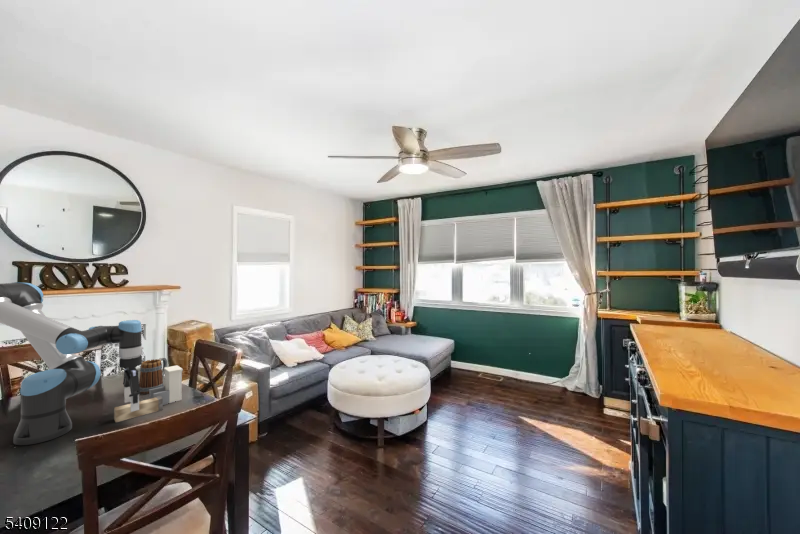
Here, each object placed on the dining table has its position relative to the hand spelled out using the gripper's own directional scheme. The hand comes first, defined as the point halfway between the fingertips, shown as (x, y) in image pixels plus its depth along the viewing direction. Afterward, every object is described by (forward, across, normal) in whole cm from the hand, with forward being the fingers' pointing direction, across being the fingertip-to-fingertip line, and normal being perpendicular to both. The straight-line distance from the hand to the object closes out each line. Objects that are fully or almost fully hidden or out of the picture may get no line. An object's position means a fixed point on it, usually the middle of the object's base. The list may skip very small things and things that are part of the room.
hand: (131, 406), depth 140 cm
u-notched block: (+5, +8, -14) cm, 17 cm away
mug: (+4, +31, -14) cm, 35 cm away
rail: (+5, 0, -2) cm, 5 cm away
